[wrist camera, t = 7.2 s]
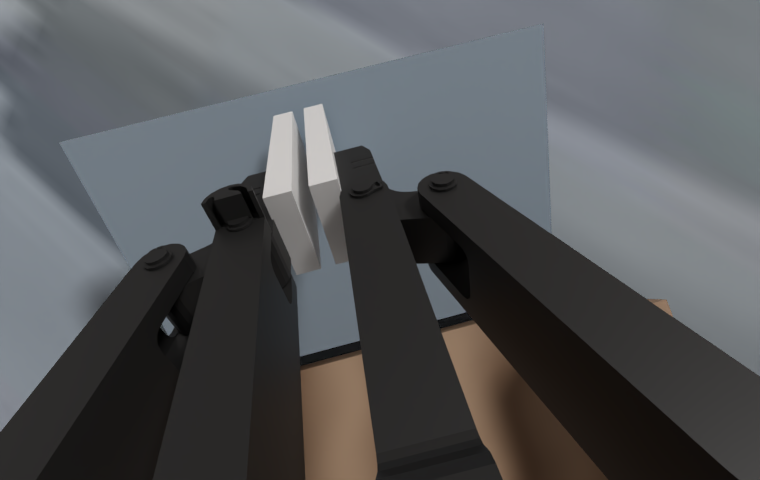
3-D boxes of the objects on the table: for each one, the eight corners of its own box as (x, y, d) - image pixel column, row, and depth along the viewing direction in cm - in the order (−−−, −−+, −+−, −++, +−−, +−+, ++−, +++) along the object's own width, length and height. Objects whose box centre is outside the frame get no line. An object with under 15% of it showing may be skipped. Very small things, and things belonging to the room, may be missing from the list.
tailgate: (535, 271, 22) (520, 29, 17) (553, 288, 21) (543, 23, 15) (207, 358, 22) (88, 135, 17) (195, 384, 20) (58, 142, 15)
